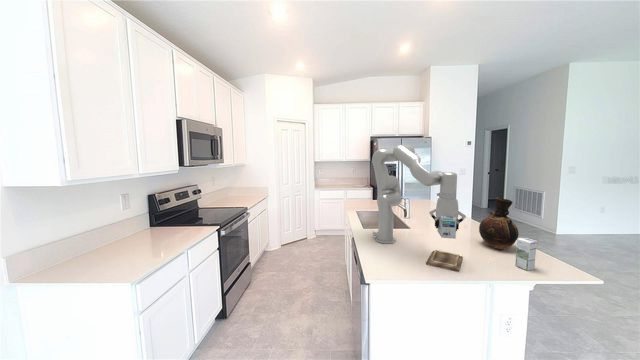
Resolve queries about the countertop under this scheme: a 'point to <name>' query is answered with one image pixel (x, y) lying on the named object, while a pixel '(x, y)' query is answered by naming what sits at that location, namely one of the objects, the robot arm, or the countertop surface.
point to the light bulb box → (447, 227)
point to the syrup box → (526, 253)
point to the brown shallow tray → (445, 260)
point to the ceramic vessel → (499, 226)
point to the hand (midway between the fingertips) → (446, 229)
